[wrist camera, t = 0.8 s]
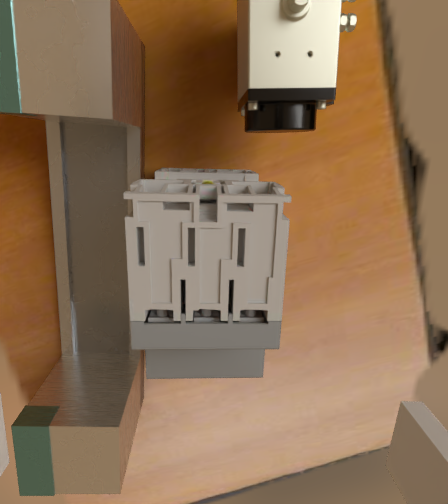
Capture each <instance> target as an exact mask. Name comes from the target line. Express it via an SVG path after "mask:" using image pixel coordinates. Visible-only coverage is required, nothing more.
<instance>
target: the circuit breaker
mask: <svg viewBox="0 0 448 504" xmlns="http://www.w3.org/2000/svg"><path fill="white" fill-rule="evenodd" d="M258 175H259V174H258V173H256V172H254V171H251V170H231V169H190V168H162V169H159V170H157V171H155V179H139V180H137V181H135V182H133V183H132V184H131V185H130V189H131V191H125V192H124V199H131V210H132V211H131V212H130V213H129V214H128V215H127V216H126V217H125V231H126V250H127V269H128V288H129V307H130V326H131V345H132V350H145V353H146V377H147V379H173V378H259V377H263V369H264V354H265V349H279V346H280V334H281V321H282V309H283V296H284V284H285V271H286V259H287V246H288V234H289V221H290V220H289V219H288V218H287V217H286V216H284V215H283V202H291V196H290V195H284V187H283V186H281V185H279V184H277V183H275V182H258Z"/></svg>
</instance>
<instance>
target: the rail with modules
mask: <svg viewBox="0 0 448 504" xmlns="http://www.w3.org/2000/svg"><path fill="white" fill-rule="evenodd" d="M0 114H7V115H14V116H20V117H26V118H32V119H38V120H44V121H46V135H47V149H48V163H49V178H50V192H51V206H52V220H53V234H54V249H55V263H56V277H57V291H58V305H59V320H60V334H61V348H62V356H61V357H60V359H59V360H58V362H57V363H56V365H55V366H54V368H53V369H52V371H51V372H50V373H49V375H48V376H47V378H46V379H45V381H44V382H43V384H42V385H41V387H40V388H39V390H38V391H37V392H36V394H35V395H34V397H33V398H32V400H31V401H30V403H29V404H28V406H25V407H24V409H23V410H22V412H21V413H20V414H19V416H18V417H17V419H16V420H15V422H14V423H13V424H12V426H11V427H12V435H13V444H14V451H15V459H16V468H17V476H18V484H19V492H20V496H54V495H55V494H120V493H121V489H122V485H123V481H124V477H125V473H126V469H127V464H128V460H129V456H130V452H131V448H132V444H133V440H134V436H135V432H136V427H137V423H138V419H139V415H140V411H141V407H142V403H143V399H144V350H132V345H131V326H130V307H129V288H128V269H127V250H126V231H125V217H126V216H127V215H128V214H129V213H130V212H131V211H132V210H131V199H124V192H125V191H131V189H130V185H131V184H132V183H133V182H135V181H137V180H139V179H144V149H145V46H144V44H143V42H142V41H141V39H140V37H139V36H138V34H137V32H136V31H135V29H134V27H133V26H132V24H131V22H130V21H129V19H128V17H127V16H126V14H125V12H124V11H123V9H122V7H121V6H120V4H119V2H118V1H117V0H0Z"/></svg>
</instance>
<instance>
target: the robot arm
mask: <svg viewBox="0 0 448 504" xmlns="http://www.w3.org/2000/svg"><path fill="white" fill-rule="evenodd" d="M8 463H9V456H8V447H7V441H6V432H5V424H4V417H3V408H2V402H1V393H0V476H1V475H2V473H3V471H4V470H5V468H6V467H7V465H8ZM386 467H387V469H388V471H389V473H390V475H391V476H392V478H393V480H394V482H395V483H396V485H397V487H398V489H399V490H400V492H401V494H402V496H403V497H404V499H405V501H406V503H407V504H448V431H447V430H446V429H445V428H444V426H443V425H442V424H441V423H440V422H439V421H438V419H437V418H436V417H435V416H434V415H433V414H432V412H431V411H430V410H429V409H428V408H427V407H426V405H425V404H424V403H423V402H408V401H401V403H400V407H399V411H398V415H397V419H396V424H395V428H394V432H393V436H392V440H391V444H390V448H389V452H388V456H387V460H386Z"/></svg>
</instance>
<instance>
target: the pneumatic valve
mask: <svg viewBox="0 0 448 504" xmlns="http://www.w3.org/2000/svg"><path fill="white" fill-rule="evenodd" d="M345 1H346V0H237V64H238V112H241V115H242V116H245V132H247V133H286V132H307V131H314V130H315V129H316V113H317V109H326V106H329V105H332V104H334V100H335V95H336V80H337V65H338V50H339V35H340V32H343V31H344V30H346V31H347V32H352V31H353V30H354V28H355V26H356V20H357V18H356V14H353V13H348V16H347V15H346V14H344V13H341V5H342V2H345ZM347 1H348V2H354V1H356V0H347Z"/></svg>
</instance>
